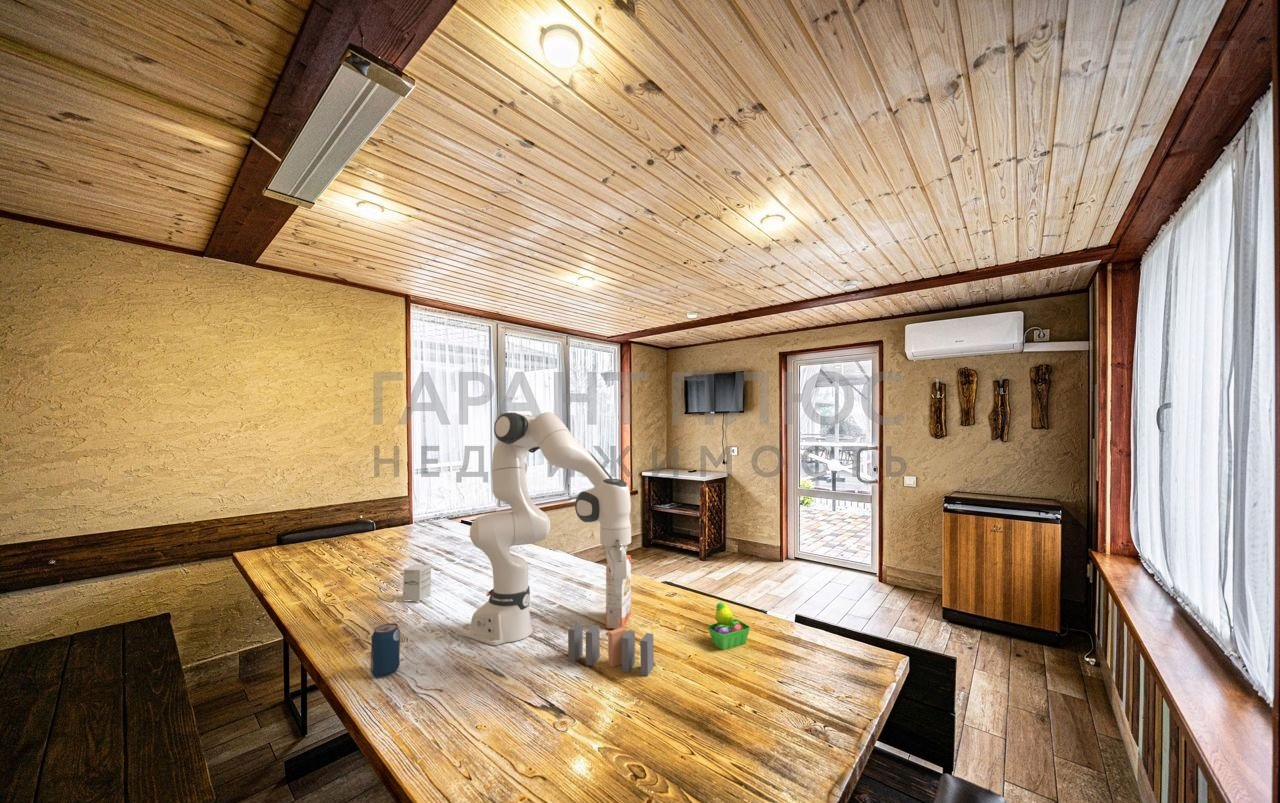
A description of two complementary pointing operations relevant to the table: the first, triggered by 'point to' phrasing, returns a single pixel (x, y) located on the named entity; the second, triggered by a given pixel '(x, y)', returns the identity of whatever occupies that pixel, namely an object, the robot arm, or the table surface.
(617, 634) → the domino
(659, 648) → the table surface
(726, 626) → the fruit basket
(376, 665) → the soda can
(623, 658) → the domino
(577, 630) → the domino
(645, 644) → the domino end
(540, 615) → the table surface
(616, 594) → the cracker box
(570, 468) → the robot arm
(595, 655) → the domino
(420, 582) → the supplement box
